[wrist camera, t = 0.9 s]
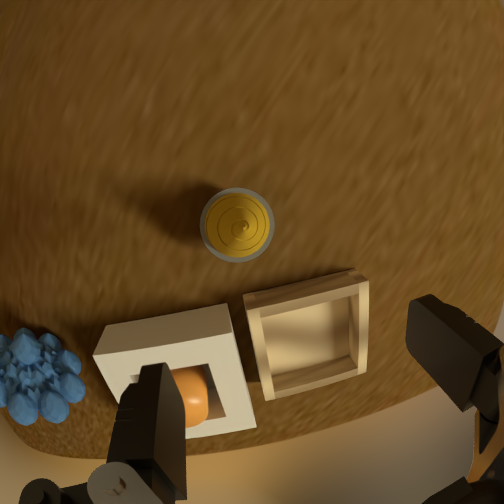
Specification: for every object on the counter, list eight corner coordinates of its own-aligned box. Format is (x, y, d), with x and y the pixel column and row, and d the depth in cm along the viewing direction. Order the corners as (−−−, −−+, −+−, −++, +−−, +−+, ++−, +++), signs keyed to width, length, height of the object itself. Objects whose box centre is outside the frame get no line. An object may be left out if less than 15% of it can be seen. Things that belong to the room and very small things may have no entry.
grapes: (101, 315, 27) (60, 402, 16) (102, 368, 29) (73, 455, 17) (4, 289, 24) (-59, 352, 13) (12, 342, 26) (-36, 410, 15)
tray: (242, 294, 28) (246, 310, 25) (354, 268, 29) (368, 280, 26) (260, 382, 32) (265, 401, 29) (355, 356, 33) (366, 371, 30)
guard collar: (106, 325, 27) (92, 355, 23) (227, 302, 28) (232, 332, 24) (147, 410, 31) (143, 442, 27) (249, 394, 32) (256, 427, 28)
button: (147, 361, 27) (141, 394, 23) (199, 353, 27) (199, 385, 23) (164, 398, 28) (161, 430, 24) (212, 391, 29) (214, 423, 25)
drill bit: (209, 262, 26) (204, 288, 16) (196, 199, 26) (183, 187, 16) (272, 249, 27) (303, 267, 17) (259, 186, 26) (284, 168, 16)
